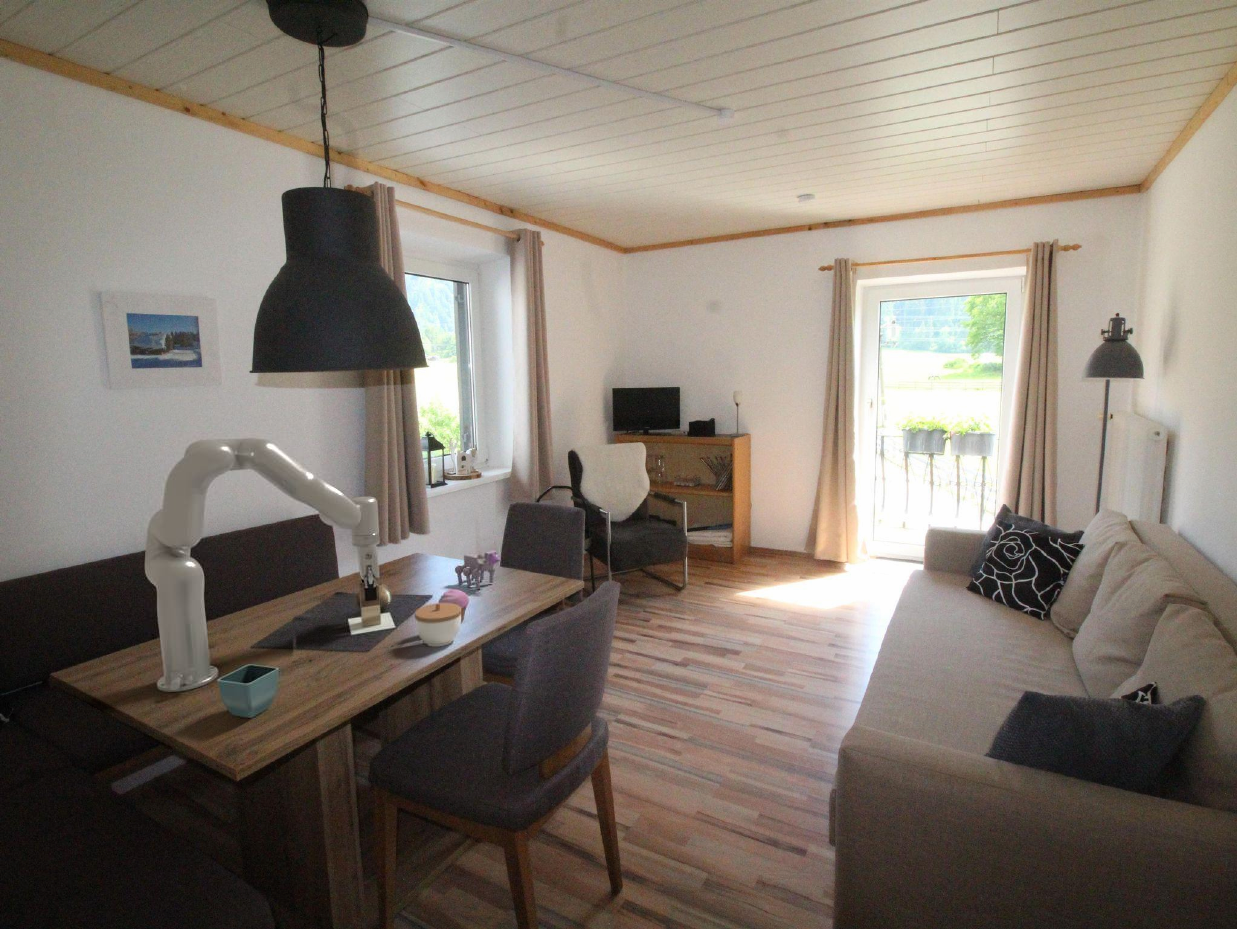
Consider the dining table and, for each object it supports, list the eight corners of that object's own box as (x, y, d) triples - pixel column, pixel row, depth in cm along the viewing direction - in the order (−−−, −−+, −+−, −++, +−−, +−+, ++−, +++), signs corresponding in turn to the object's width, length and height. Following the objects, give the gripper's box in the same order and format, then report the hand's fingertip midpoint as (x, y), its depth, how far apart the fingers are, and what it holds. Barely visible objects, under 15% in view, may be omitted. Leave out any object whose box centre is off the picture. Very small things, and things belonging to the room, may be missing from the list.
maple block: (381, 624, 194) (379, 604, 193) (363, 627, 192) (361, 607, 191) (379, 619, 198) (378, 599, 198) (361, 621, 196) (360, 602, 196)
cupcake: (453, 615, 204) (451, 584, 203) (475, 619, 200) (474, 587, 199) (433, 625, 196) (431, 593, 195) (456, 629, 192) (455, 596, 191)
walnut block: (379, 604, 193) (378, 585, 192) (361, 607, 191) (360, 587, 190) (378, 599, 198) (376, 580, 197) (360, 602, 196) (359, 583, 195)
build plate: (395, 631, 192) (395, 627, 192) (351, 638, 186) (351, 634, 186) (389, 616, 204) (389, 612, 204) (348, 622, 199) (347, 619, 199)
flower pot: (252, 700, 151) (248, 663, 150) (283, 705, 148) (280, 667, 147) (219, 719, 142) (215, 679, 141) (251, 724, 140) (247, 684, 139)
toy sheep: (513, 587, 232) (511, 549, 229) (491, 596, 223) (488, 558, 221) (476, 577, 244) (473, 542, 241) (453, 586, 235) (449, 549, 233)
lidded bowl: (437, 630, 192) (435, 594, 190) (472, 637, 186) (470, 599, 185) (406, 646, 181) (404, 607, 179) (441, 653, 175) (439, 614, 174)
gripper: (382, 543, 186) (386, 602, 188) (376, 531, 201) (379, 585, 203) (354, 547, 183) (358, 606, 185) (350, 534, 198) (353, 589, 200)
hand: (369, 595), depth 194 cm, fingers open, 9 cm apart
